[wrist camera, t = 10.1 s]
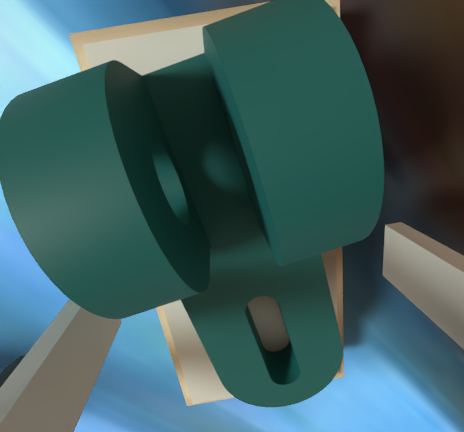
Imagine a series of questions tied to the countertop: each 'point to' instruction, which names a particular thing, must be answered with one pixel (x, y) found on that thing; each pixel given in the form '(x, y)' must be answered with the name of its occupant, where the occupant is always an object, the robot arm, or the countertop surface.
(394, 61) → the countertop surface
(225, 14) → the tray
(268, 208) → the bracket
